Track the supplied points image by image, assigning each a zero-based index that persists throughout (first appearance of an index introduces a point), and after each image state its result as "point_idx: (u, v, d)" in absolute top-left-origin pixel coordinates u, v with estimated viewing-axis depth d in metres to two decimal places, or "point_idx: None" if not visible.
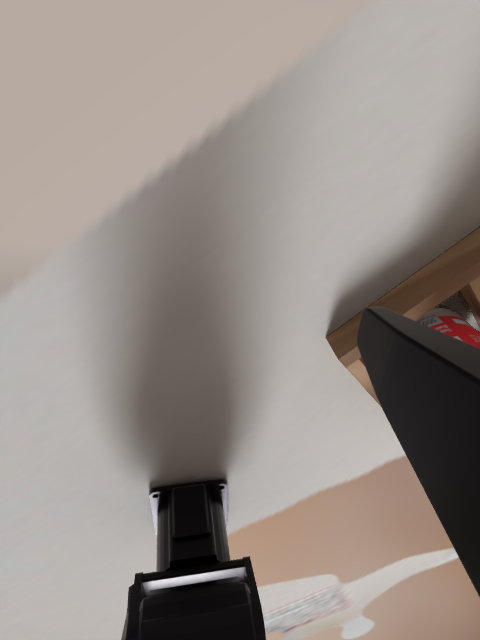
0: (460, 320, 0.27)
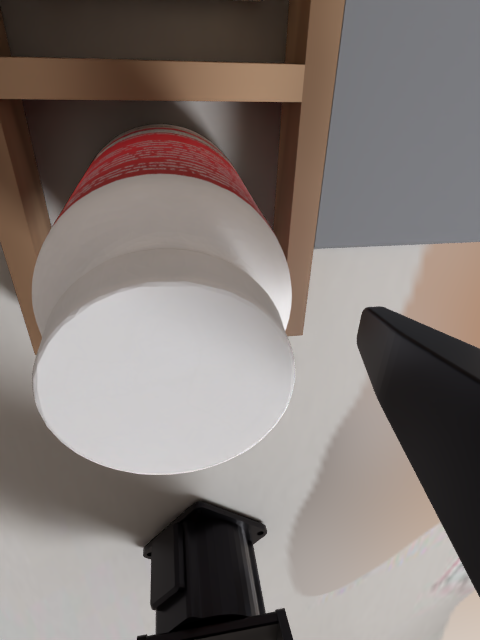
0: (109, 145, 0.13)
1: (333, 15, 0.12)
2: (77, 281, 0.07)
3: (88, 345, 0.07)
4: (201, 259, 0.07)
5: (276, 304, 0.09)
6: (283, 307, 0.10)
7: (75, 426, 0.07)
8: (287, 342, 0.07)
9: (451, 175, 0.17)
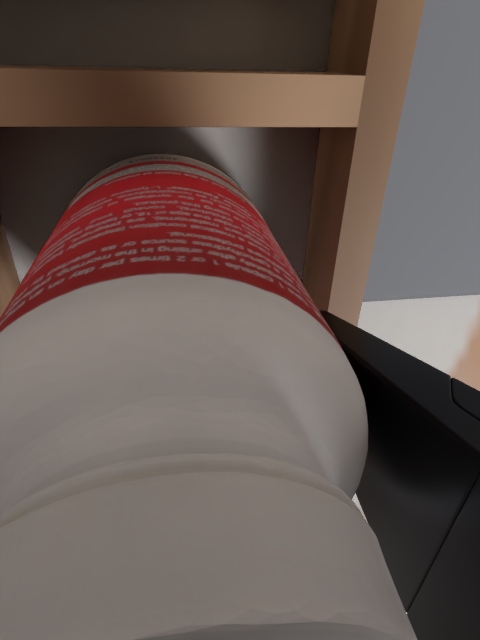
0: (90, 187, 0.10)
1: (410, 5, 0.08)
2: None
3: None
4: (246, 502, 0.03)
5: (351, 474, 0.06)
6: (360, 472, 0.06)
7: None
8: None
9: None
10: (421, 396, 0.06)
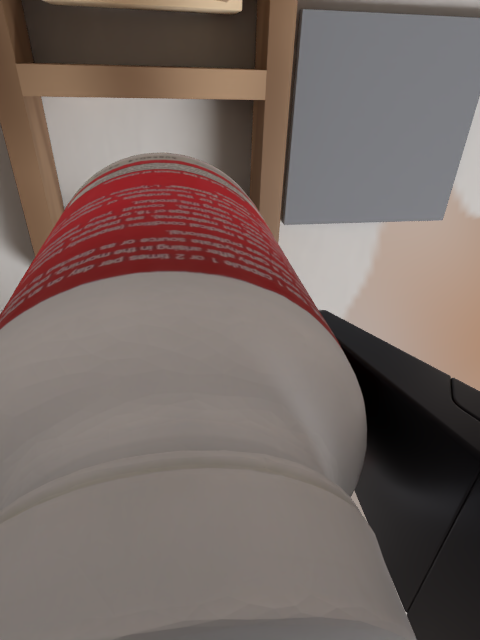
0: (90, 185, 0.10)
1: (287, 32, 0.15)
2: None
3: None
4: (244, 498, 0.03)
5: (349, 472, 0.06)
6: (357, 471, 0.06)
7: None
8: None
9: (397, 162, 0.21)
10: (421, 396, 0.06)
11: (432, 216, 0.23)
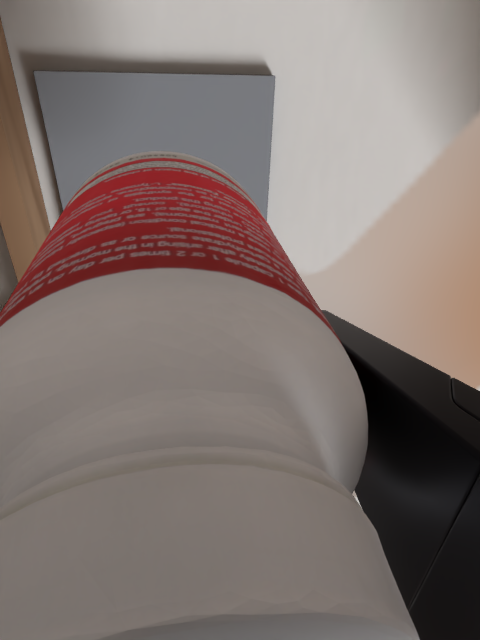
0: (90, 184, 0.10)
1: None
2: None
3: None
4: (246, 494, 0.03)
5: (350, 469, 0.06)
6: (359, 467, 0.06)
7: None
8: None
9: None
10: (421, 396, 0.06)
11: None
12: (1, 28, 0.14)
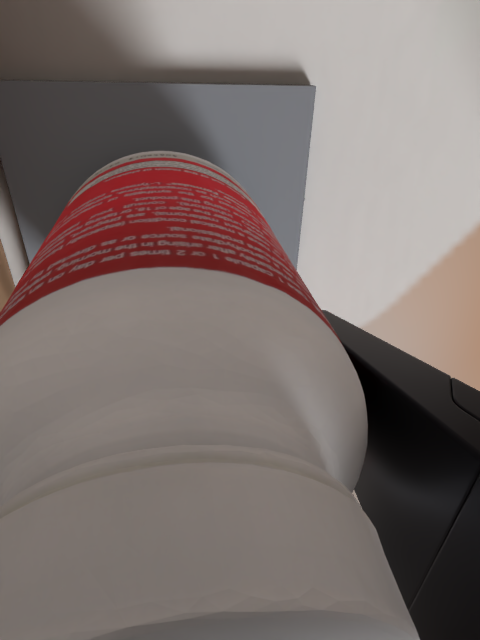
0: (90, 183, 0.10)
1: None
2: None
3: None
4: (244, 494, 0.03)
5: (350, 468, 0.06)
6: (358, 466, 0.06)
7: None
8: None
9: None
10: (421, 396, 0.06)
11: None
12: None
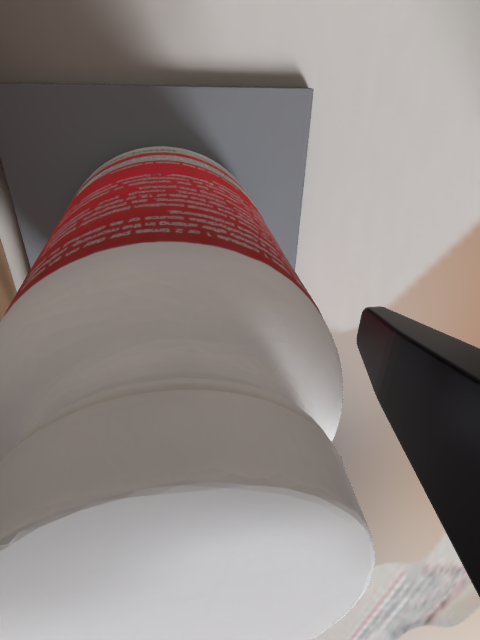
0: (96, 176, 0.11)
1: None
2: (23, 446, 0.04)
3: (38, 577, 0.04)
4: (229, 410, 0.04)
5: (326, 419, 0.07)
6: (334, 419, 0.07)
7: None
8: (369, 538, 0.04)
9: None
10: None
11: None
12: None
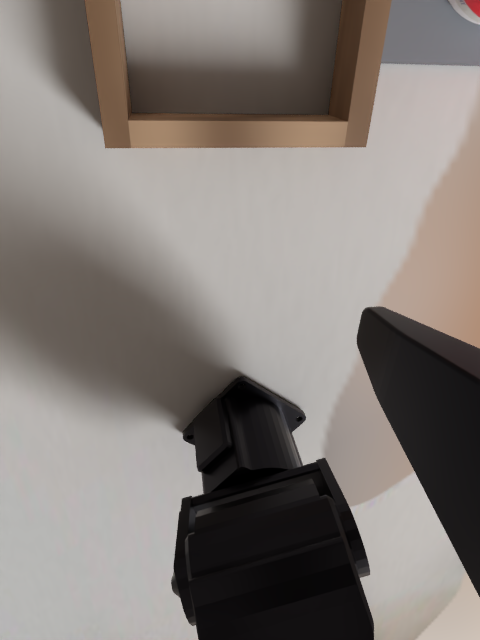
0: None
1: None
2: None
3: None
4: None
5: None
6: None
7: None
8: None
9: None
10: None
11: None
12: None
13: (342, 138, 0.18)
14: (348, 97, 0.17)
